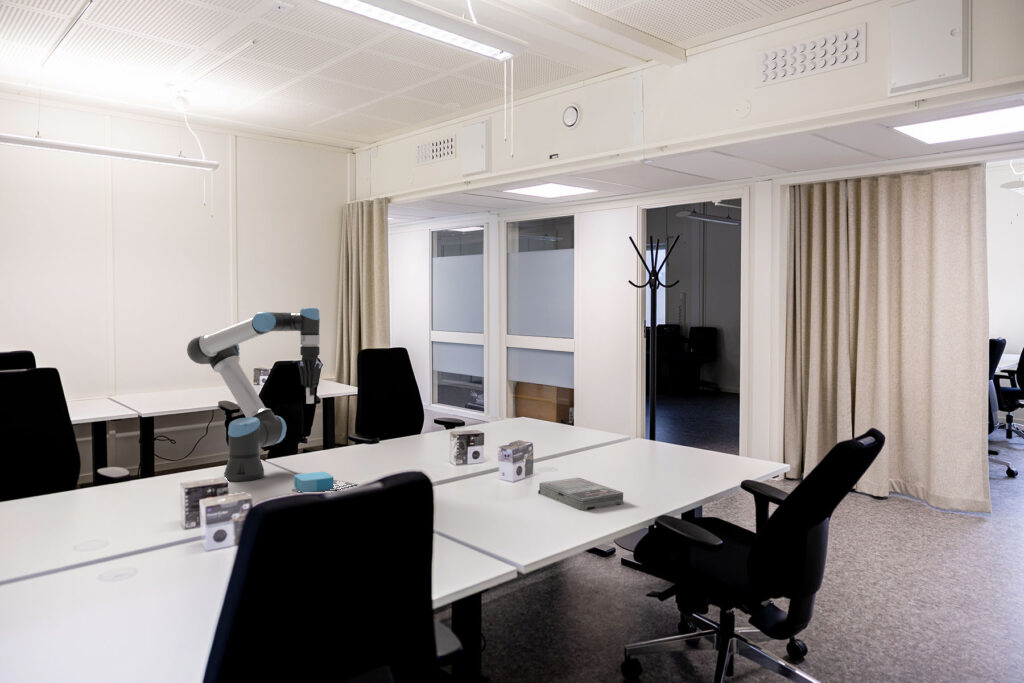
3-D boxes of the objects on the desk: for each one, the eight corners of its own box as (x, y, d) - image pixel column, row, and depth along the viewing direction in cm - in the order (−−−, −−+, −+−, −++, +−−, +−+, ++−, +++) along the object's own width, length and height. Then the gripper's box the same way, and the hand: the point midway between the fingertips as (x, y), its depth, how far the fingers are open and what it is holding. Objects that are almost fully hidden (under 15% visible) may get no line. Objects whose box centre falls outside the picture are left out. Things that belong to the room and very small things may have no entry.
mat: (291, 490, 255) (291, 489, 255) (332, 480, 272) (332, 479, 272) (317, 496, 247) (317, 495, 247) (357, 485, 264) (357, 484, 264)
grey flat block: (578, 488, 264) (578, 477, 263) (624, 505, 240) (624, 492, 240) (538, 494, 254) (538, 482, 254) (582, 512, 231) (582, 499, 231)
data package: (293, 486, 260) (302, 493, 250) (293, 474, 260) (302, 480, 249) (324, 482, 266) (334, 489, 256) (324, 471, 266) (334, 477, 256)
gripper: (291, 345, 280) (292, 403, 281) (313, 346, 273) (313, 405, 274) (306, 345, 286) (306, 401, 287) (328, 345, 279) (328, 403, 280)
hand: (310, 403), depth 280 cm, fingers closed
